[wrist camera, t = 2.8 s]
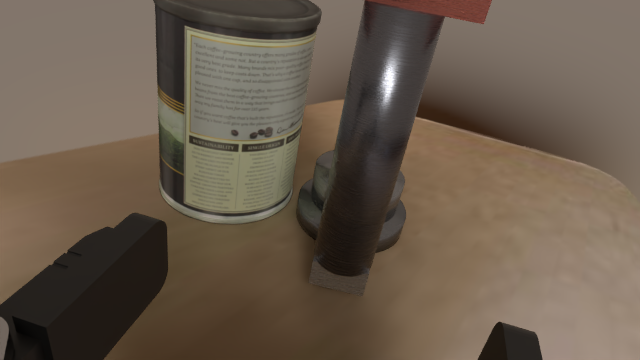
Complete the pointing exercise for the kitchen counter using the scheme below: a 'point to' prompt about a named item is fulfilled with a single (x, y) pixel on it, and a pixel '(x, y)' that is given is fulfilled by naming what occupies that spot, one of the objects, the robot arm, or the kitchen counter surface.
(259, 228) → the kitchen counter surface
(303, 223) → the base
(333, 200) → the crank
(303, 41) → the coffee can
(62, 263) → the robot arm
